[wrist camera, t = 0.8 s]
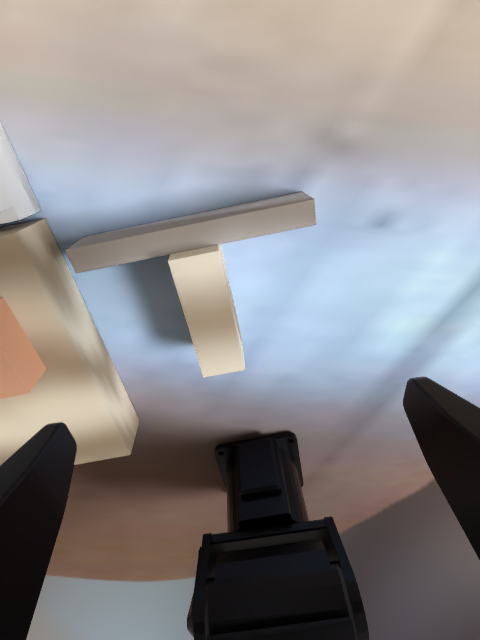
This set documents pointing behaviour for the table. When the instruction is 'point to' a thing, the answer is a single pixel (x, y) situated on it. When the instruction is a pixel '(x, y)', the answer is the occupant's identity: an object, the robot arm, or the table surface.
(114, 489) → the table surface
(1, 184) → the box
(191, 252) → the scraper
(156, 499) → the table surface
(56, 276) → the board
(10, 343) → the tile
